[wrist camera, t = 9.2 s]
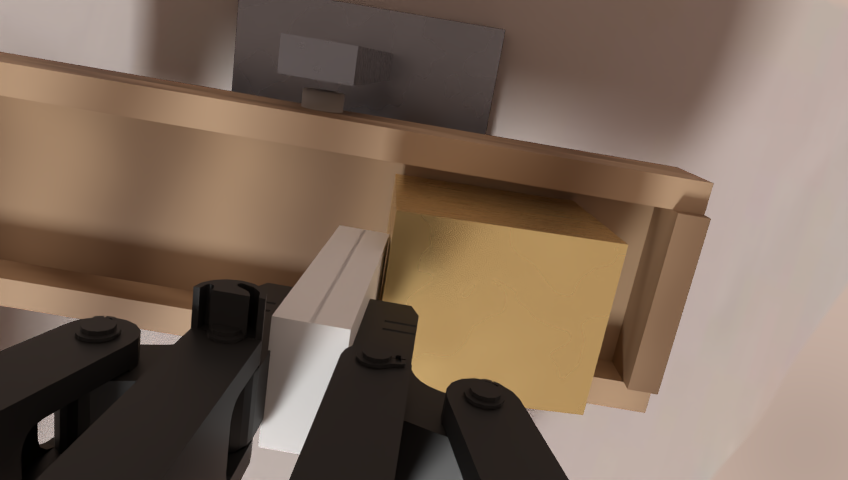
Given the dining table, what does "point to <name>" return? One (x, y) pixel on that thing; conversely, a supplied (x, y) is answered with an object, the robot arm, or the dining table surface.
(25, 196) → the beam
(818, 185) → the dining table surface
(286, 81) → the pivot stand
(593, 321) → the block
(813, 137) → the dining table surface
